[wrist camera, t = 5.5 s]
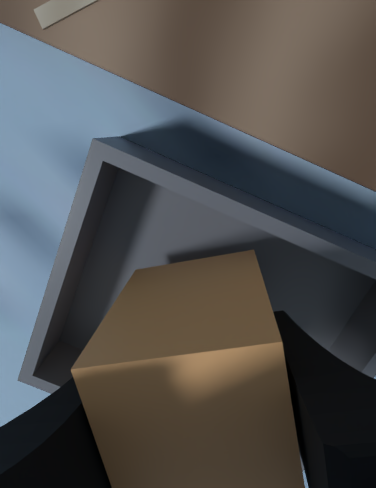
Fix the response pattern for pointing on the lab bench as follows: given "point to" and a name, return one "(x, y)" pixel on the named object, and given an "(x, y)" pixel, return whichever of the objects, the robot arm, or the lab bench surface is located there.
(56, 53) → the lab bench surface
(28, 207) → the lab bench surface
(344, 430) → the robot arm
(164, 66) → the crank board
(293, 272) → the tray
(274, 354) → the stop block
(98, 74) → the lab bench surface
